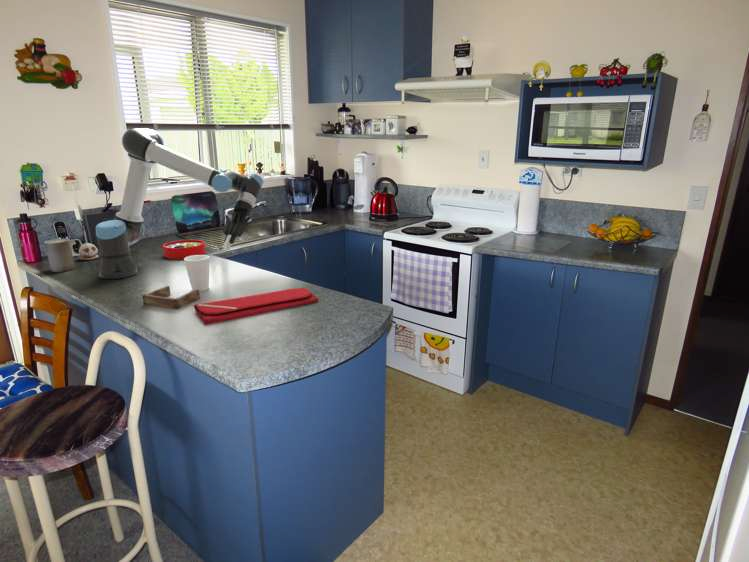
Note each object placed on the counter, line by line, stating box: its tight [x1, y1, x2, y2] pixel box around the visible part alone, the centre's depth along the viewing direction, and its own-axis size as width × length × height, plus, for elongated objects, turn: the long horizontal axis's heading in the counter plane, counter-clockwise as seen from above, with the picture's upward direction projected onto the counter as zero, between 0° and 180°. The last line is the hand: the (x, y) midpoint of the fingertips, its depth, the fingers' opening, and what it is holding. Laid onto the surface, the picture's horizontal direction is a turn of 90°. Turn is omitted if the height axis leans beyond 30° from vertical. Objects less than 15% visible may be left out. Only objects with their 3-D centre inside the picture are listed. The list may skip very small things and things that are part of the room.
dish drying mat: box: [193, 287, 319, 325], centre depth 172 cm, size 16×41×4 cm, turn 122°
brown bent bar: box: [141, 285, 201, 310], centre depth 178 cm, size 12×15×4 cm
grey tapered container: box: [44, 238, 76, 273], centre depth 220 cm, size 10×10×15 cm
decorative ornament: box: [78, 229, 100, 261], centre depth 239 cm, size 8×8×15 cm
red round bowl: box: [162, 239, 207, 260], centre depth 248 cm, size 20×6×20 cm
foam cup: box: [183, 254, 211, 293], centre depth 190 cm, size 10×9×13 cm
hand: (225, 249), depth 204 cm, fingers closed
